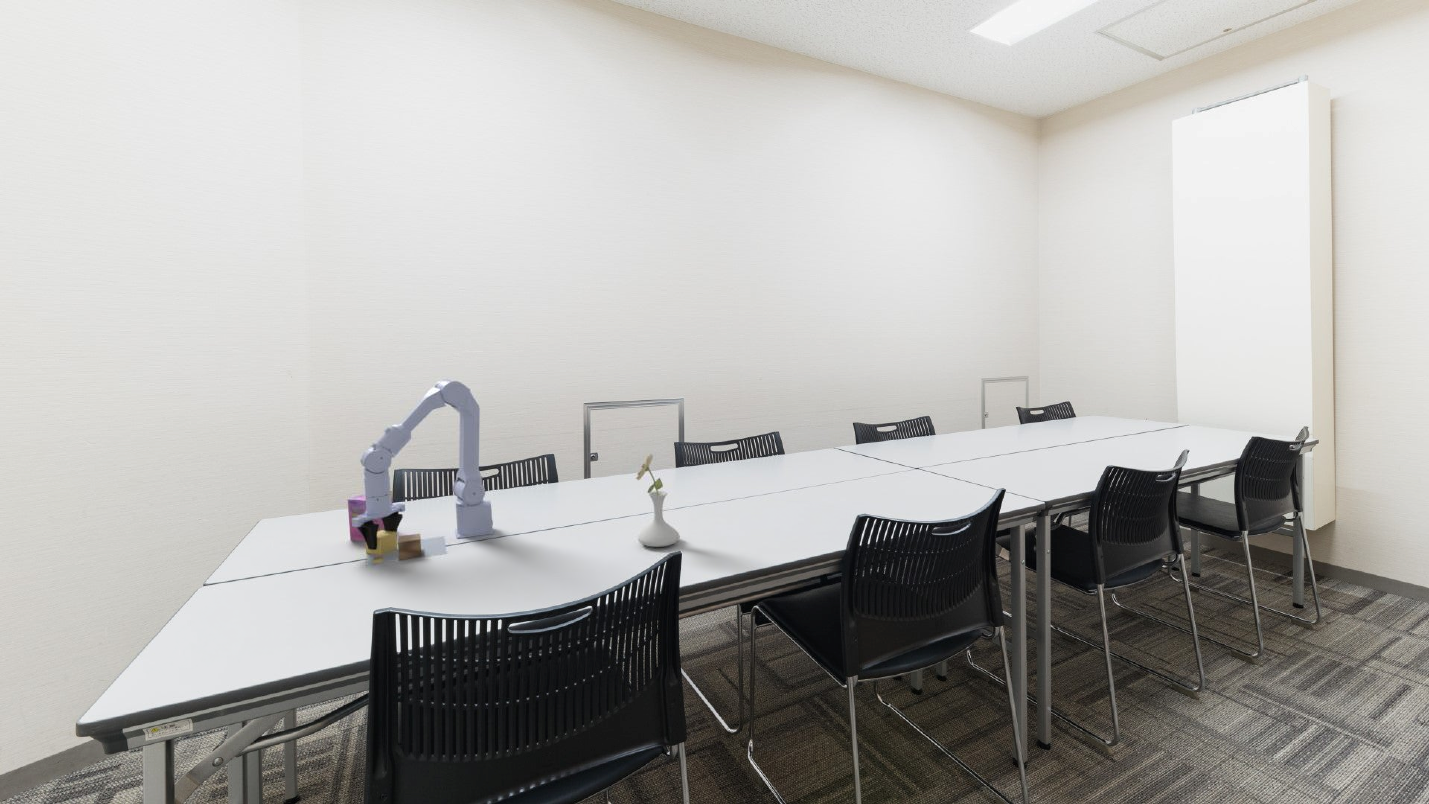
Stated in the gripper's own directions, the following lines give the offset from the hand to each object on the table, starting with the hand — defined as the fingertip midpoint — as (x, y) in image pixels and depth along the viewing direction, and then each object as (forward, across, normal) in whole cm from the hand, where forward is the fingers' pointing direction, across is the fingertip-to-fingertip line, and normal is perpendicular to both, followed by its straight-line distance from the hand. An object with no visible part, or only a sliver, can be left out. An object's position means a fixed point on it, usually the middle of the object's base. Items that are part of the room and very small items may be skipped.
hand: (381, 545), depth 154 cm
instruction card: (+2, -2, +6) cm, 7 cm away
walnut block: (+1, 0, +10) cm, 10 cm away
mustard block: (+1, 0, 0) cm, 1 cm away
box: (+2, -9, -13) cm, 16 cm away
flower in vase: (+2, -27, +66) cm, 72 cm away
